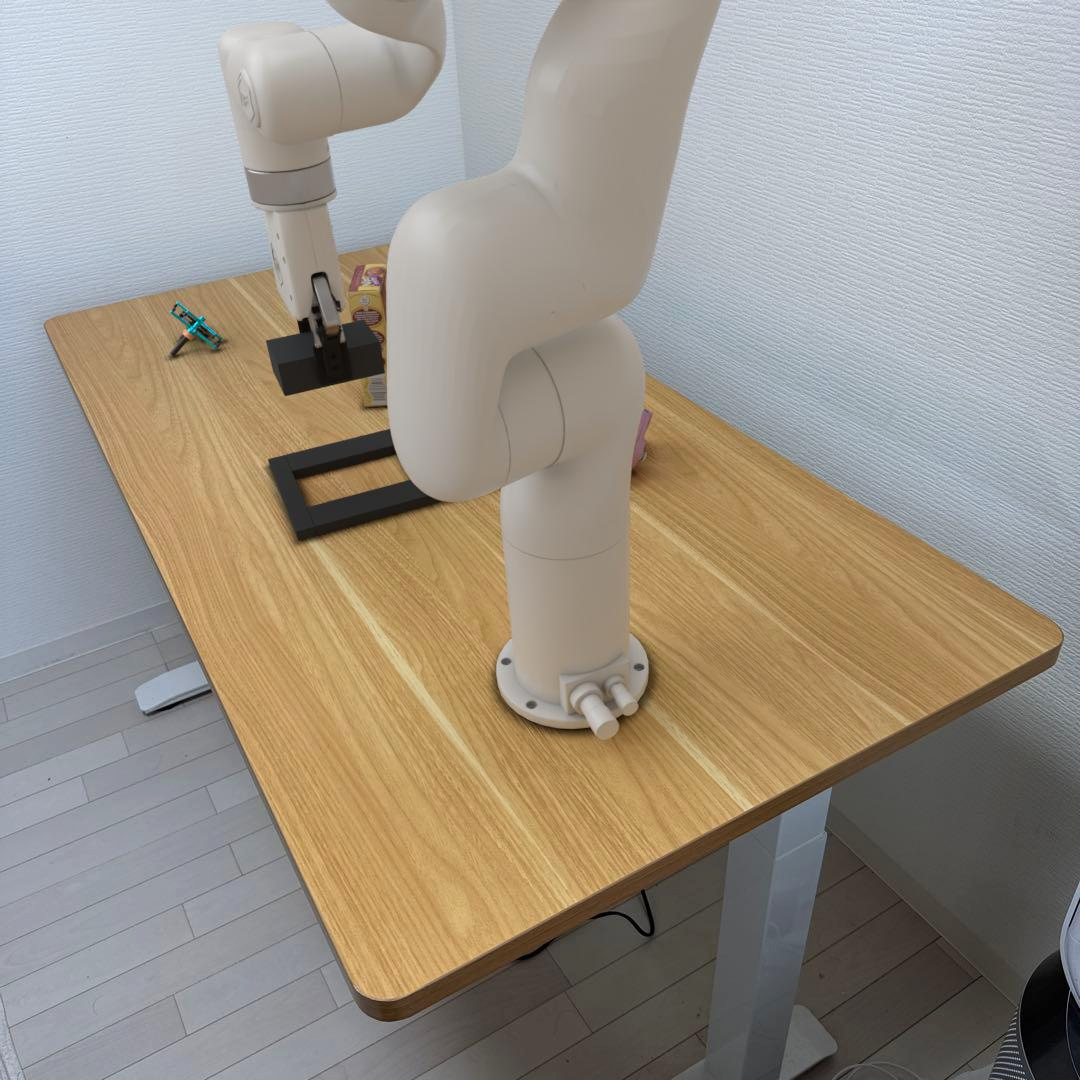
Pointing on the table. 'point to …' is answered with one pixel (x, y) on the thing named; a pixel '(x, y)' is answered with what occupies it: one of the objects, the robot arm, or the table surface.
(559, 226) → the robot arm
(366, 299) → the candy box
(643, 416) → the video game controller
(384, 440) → the black rectangular frame
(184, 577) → the table surface
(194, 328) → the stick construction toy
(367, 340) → the loose black block
